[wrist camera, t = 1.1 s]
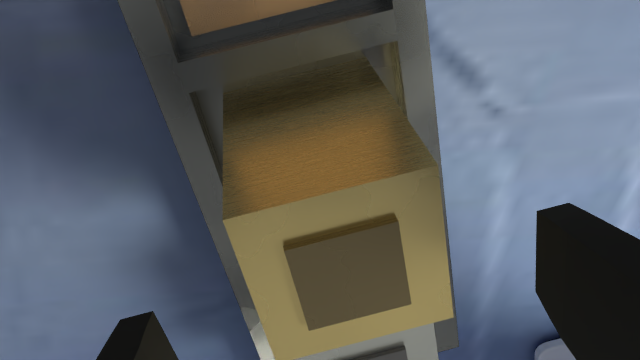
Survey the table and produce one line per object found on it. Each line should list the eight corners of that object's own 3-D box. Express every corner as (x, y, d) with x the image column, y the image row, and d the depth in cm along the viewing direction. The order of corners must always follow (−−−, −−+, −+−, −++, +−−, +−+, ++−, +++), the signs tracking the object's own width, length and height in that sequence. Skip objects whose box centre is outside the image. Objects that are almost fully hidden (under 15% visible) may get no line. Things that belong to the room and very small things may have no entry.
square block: (407, 311, 20) (446, 408, 17) (303, 338, 20) (319, 442, 17) (393, 227, 18) (434, 318, 15) (276, 257, 18) (289, 356, 15)
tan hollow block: (385, 178, 17) (456, 322, 12) (260, 209, 17) (277, 369, 12) (365, 56, 15) (441, 169, 10) (223, 92, 15) (222, 225, 10)
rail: (446, 319, 21) (459, 346, 20) (272, 364, 21) (274, 395, 20) (375, -304, 11) (393, -321, 10) (45, -224, 11) (24, -233, 10)
